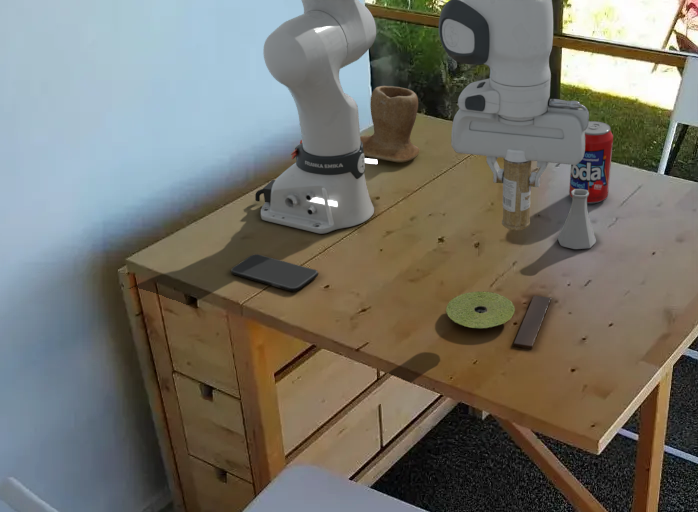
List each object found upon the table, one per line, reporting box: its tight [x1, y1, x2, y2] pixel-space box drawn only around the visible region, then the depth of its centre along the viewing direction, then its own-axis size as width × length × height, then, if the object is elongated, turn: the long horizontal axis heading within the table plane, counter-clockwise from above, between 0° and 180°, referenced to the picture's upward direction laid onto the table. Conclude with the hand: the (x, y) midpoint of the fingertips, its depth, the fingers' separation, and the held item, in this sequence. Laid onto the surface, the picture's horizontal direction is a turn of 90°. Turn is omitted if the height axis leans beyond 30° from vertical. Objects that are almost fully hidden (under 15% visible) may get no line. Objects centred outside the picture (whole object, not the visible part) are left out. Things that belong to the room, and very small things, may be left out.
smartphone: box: [230, 253, 319, 292], centre depth 167 cm, size 7×1×15 cm
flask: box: [557, 189, 597, 250], centre depth 172 cm, size 7×7×10 cm
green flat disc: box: [445, 291, 516, 329], centre depth 154 cm, size 11×11×2 cm
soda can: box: [568, 120, 614, 205], centre depth 186 cm, size 8×8×15 cm
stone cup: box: [360, 85, 420, 164], centre depth 205 cm, size 15×12×15 cm
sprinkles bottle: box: [501, 149, 532, 231], centre depth 145 cm, size 5×5×14 cm
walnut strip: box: [513, 295, 552, 350], centre depth 153 cm, size 3×15×1 cm, turn 164°
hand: (516, 183), depth 145 cm, fingers closed on sprinkles bottle, 4 cm apart
